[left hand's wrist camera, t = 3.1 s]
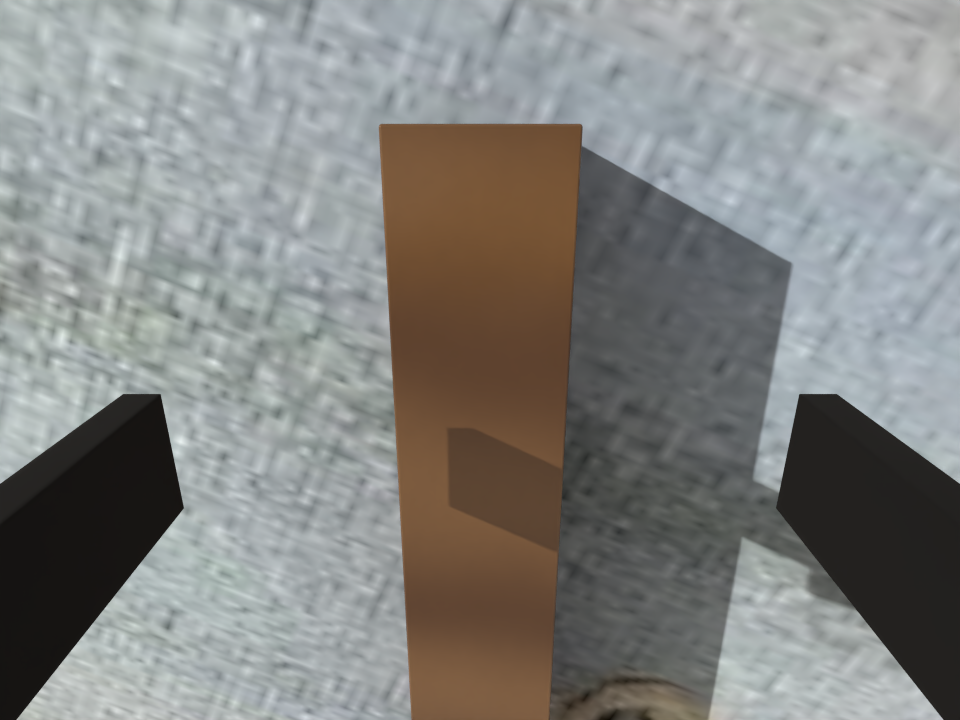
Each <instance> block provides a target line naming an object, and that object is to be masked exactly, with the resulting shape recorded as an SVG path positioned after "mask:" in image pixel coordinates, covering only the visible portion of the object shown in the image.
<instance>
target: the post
mask: <svg viewBox="0 0 960 720" xmlns="http://www.w3.org/2000/svg"><path fill="white" fill-rule="evenodd" d="M582 128H583V127H582V125H581V124H380V125H379V139H380V157H381V175H382V193H383V211H384V229H385V248H386V266H387V284H388V302H389V320H390V338H391V356H392V374H393V392H394V411H395V429H396V447H397V465H398V483H399V501H400V519H401V537H402V555H403V573H404V592H405V610H406V628H407V646H408V664H409V682H410V700H411V718H412V720H549V717H550V700H551V682H552V664H553V646H554V628H555V610H556V592H557V575H558V557H559V539H560V521H561V503H562V485H563V467H564V450H565V432H566V414H567V396H568V378H569V360H570V342H571V325H572V307H573V289H574V271H575V253H576V235H577V217H578V200H579V182H580V164H581V146H582Z"/></svg>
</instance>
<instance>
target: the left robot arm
mask: <svg viewBox="0 0 960 720" xmlns="http://www.w3.org/2000/svg"><path fill="white" fill-rule="evenodd" d="M183 509H184V507H183V502H182V497H181V492H180V487H179V482H178V477H177V472H176V467H175V463H174V458H173V453H172V448H171V443H170V438H169V433H168V428H167V423H166V418H165V414H164V409H163V404H162V399H161V394H123V395H121V396H120V397H119V398H117V399H116V400H115V401H113V402H112V403H110V404H109V405H108V406H106V407H105V408H104V409H102V410H101V411H100V412H98V413H97V414H95V415H94V416H93V417H91V418H90V419H89V420H87V421H86V422H84V423H83V424H82V425H80V426H79V427H78V428H76V429H75V430H73V431H72V432H71V433H69V434H68V435H67V436H65V437H64V438H63V439H61V440H60V441H58V442H57V443H56V444H54V445H53V446H52V447H50V448H49V449H47V450H46V451H45V452H43V453H42V454H41V455H39V456H38V457H36V458H35V459H34V460H32V461H31V462H30V463H28V464H27V465H25V466H24V467H23V468H21V469H20V470H19V471H17V472H16V473H15V474H13V475H12V476H10V477H9V478H8V479H6V480H5V481H4V482H2V483H1V484H0V720H17V718H18V717H19V716H20V715H21V713H22V712H23V711H24V709H25V708H26V707H27V706H28V704H29V703H30V702H31V701H32V699H33V698H34V697H35V696H36V694H37V693H38V692H39V690H40V689H41V688H42V687H43V685H44V684H45V683H46V682H47V680H48V679H49V678H50V677H51V675H52V674H53V673H54V672H55V670H56V669H57V668H58V666H59V665H60V664H61V663H62V661H63V660H64V659H65V658H66V656H67V655H68V654H69V653H70V651H71V650H72V649H73V648H74V646H75V645H76V644H77V642H78V641H79V640H80V639H81V637H82V636H83V635H84V634H85V632H86V631H87V630H88V629H89V627H90V626H91V625H92V624H93V622H94V621H95V620H96V618H97V617H98V616H99V615H100V613H101V612H102V611H103V610H104V608H105V607H106V606H107V605H108V603H109V602H110V601H111V600H112V598H113V597H114V596H115V594H116V593H117V592H118V591H119V589H120V588H121V587H122V586H123V584H124V583H125V582H126V581H127V579H128V578H129V577H130V576H131V574H132V573H133V572H134V570H135V569H136V568H137V567H138V565H139V564H140V563H141V562H142V560H143V559H144V558H145V557H146V555H147V554H148V553H149V552H150V550H151V549H152V548H153V546H154V545H155V544H156V543H157V541H158V540H159V539H160V538H161V536H162V535H163V534H164V533H165V531H166V530H167V529H168V528H169V526H170V525H171V524H172V522H173V521H174V520H175V519H176V517H177V516H178V515H179V514H180V512H181V511H182V510H183ZM776 509H777V510H778V511H779V512H780V514H781V515H782V516H783V517H784V519H785V520H786V521H787V522H788V524H789V525H790V526H791V528H792V529H793V530H794V531H795V533H796V534H797V535H798V536H799V538H800V539H801V540H802V541H803V543H804V544H805V545H806V546H807V548H808V549H809V550H810V552H811V553H812V554H813V555H814V557H815V558H816V559H817V560H818V562H819V563H820V564H821V565H822V567H823V568H824V569H825V570H826V572H827V573H828V574H829V576H830V577H831V578H832V579H833V581H834V582H835V583H836V584H837V586H838V587H839V588H840V589H841V591H842V592H843V593H844V594H845V596H846V597H847V598H848V600H849V601H850V602H851V603H852V605H853V606H854V607H855V608H856V610H857V611H858V612H859V613H860V615H861V616H862V617H863V618H864V620H865V621H866V622H867V624H868V625H869V626H870V627H871V629H872V630H873V631H874V632H875V634H876V635H877V636H878V637H879V639H880V640H881V641H882V642H883V644H884V645H885V646H886V648H887V649H888V650H889V651H890V653H891V654H892V655H893V656H894V658H895V659H896V660H897V661H898V663H899V664H900V665H901V666H902V668H903V669H904V670H905V672H906V673H907V674H908V675H909V677H910V678H911V679H912V680H913V682H914V683H915V684H916V685H917V687H918V688H919V689H920V691H921V692H922V693H923V694H924V696H925V697H926V698H927V699H928V701H929V702H930V703H931V704H932V706H933V707H934V708H935V709H936V711H937V712H938V713H939V715H940V716H941V717H942V718H943V720H960V484H959V483H958V482H956V481H955V480H954V479H952V478H951V477H950V476H948V475H947V474H945V473H944V472H943V471H941V470H940V469H939V468H937V467H936V466H935V465H933V464H932V463H930V462H929V461H928V460H926V459H925V458H924V457H922V456H921V455H919V454H918V453H917V452H915V451H914V450H913V449H911V448H910V447H908V446H907V445H906V444H904V443H903V442H902V441H900V440H899V439H897V438H896V437H895V436H893V435H892V434H891V433H889V432H888V431H887V430H885V429H884V428H882V427H881V426H880V425H878V424H877V423H876V422H874V421H873V420H871V419H870V418H869V417H867V416H866V415H865V414H863V413H862V412H860V411H859V410H858V409H856V408H855V407H854V406H852V405H851V404H850V403H848V402H847V401H845V400H844V399H843V398H841V397H840V396H839V395H837V394H799V399H798V404H797V409H796V414H795V418H794V423H793V428H792V433H791V438H790V443H789V448H788V453H787V458H786V463H785V467H784V472H783V477H782V482H781V487H780V492H779V497H778V502H777V507H776Z"/></svg>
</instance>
